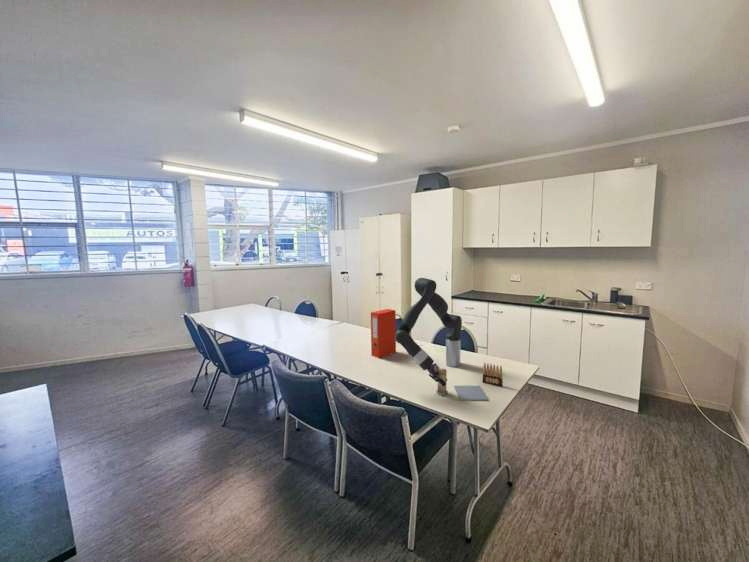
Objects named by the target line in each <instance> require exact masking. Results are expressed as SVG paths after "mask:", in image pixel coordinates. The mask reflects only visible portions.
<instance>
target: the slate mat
mask: <svg viewBox="0 0 749 562" xmlns="http://www.w3.org/2000/svg"><path fill="white" fill-rule="evenodd" d="M454 387H455V388H454ZM453 388H454V389H455V392H456V393H457V397H458V398H460V399H459V400H460V402H461V401H462V400H463V401H464V400H472V401H475V400H477V401H478V400H481V401H488V402H489V398H488V397H487V394H486V393H485V392H484V390H483V389H482V387H481V385H453ZM472 401H471V402H472ZM477 401H476V402H477ZM464 402H465V401H464Z"/></svg>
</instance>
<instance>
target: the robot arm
mask: <svg viewBox="0 0 749 562" xmlns="http://www.w3.org/2000/svg"><path fill="white" fill-rule="evenodd" d="M414 289H415V291H416V293H418V295H420V298H419V300H417V302H415V303H414V304H413V305H412V306H410V307H409V309H407V311H406V312H405V315H404V317H403V319H402V321H401V323H400V325H399V326H398V329H396V334H395V340H396V344H397V343H398V344H400V345H401V346H402V347H403V348H404V350H405V351H406V352H407V354H408V355H409V356H410V358H412V359H413V361H415V363H416V364H417V365H418V366H419V367H420V368H421V369H422V370H423V371H427V372H428V373H429V374H428V376H429V377H430V378H431V379H432V380H434V381H435V382H436V383H438V381H439V382H440V383H441V385H442V386H445V385H446V386H447V381H448V378H447V377H446V382H445V381H444V380H443V379H442V378H441V377H440V376H439V373H438V369H439V368H440V367H439V366H438V364H437V363H436V362H435V363H434V359H433V358H432V357H431V356H430V355H429V354H428V353H427V352H426V350H424V349H422V347H421V346H420V345H419V344H418V343H417V342H416V341H415V340H414V339H413V338H412V336H411V335H410V333H411V331H412V329H413V328H414V327H415V325H416V323H417V321H418V319H419V317H420V315H421V313H422V312H423V310H424V309H425V307H426V306H427V305H429V306H430V308H431V309H432V311H433V312H434V313H435V314H436V315H437V317H438V318H439V319H440V322H441V323H442V325H443V326H444V327H445V328H446V329H450V330H452V331H453V332H448V333H447V334H446V335H445V365H446V364H447V365H446V366H447V367H451V366H453V368H457V367H456V366H458V367H461V336H462V327H463V321H462V317H461V316H460V315H456V314H451V313H448V311H449V305H448V302H447V301H446V300H445V298H443V296H441V295H440V294H438V292H436V290H437V282H436V281H435V280H433V279H430V278H425V277H419V278H418V277H417V279H416V280H415V281H414Z"/></svg>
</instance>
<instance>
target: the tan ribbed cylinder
mask: <svg viewBox="0 0 749 562" xmlns="http://www.w3.org/2000/svg"><path fill="white" fill-rule="evenodd" d="M438 373H439V376H440V377H441V378H442V379H443V380H444V381H445V382H446V383H447V381H446V378H447V369H446V368H443V367H442V368H441V367H439V369H438ZM435 393H437V394H438V396H440V395H441V397H446V396H448V393H449V392H448V391H447V384H446V385H445V386H442V385H441V383H440V382H439V381H438V382H437V389H436V391H435ZM437 394H436V395H437ZM445 395H446V396H445Z"/></svg>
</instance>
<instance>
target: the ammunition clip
mask: <svg viewBox="0 0 749 562" xmlns="http://www.w3.org/2000/svg"><path fill="white" fill-rule="evenodd" d="M502 367H503V366H502V365H500V366H499V365H498V364H497V365H496V364H494V363H493V365H492V363H490V364H489V363H488V362H487V364H486V362H484V363H483V369H482V383H483V384H486V385H491V386H495V387H499V388H502V387H503V385H504V384H503V368H502Z"/></svg>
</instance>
